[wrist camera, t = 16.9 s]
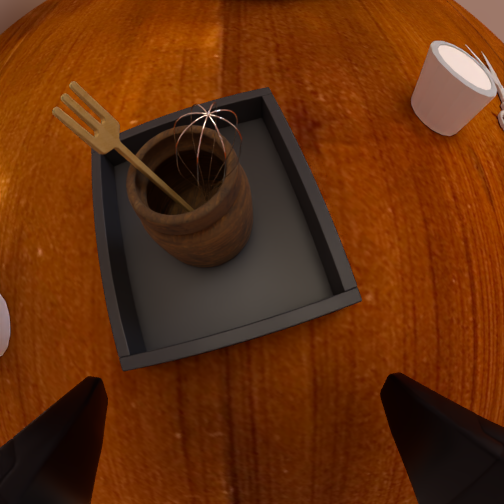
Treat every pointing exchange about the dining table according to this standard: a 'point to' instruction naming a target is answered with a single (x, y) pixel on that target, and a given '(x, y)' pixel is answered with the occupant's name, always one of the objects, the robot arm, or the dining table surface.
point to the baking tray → (233, 271)
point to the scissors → (502, 91)
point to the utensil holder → (178, 183)
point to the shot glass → (451, 89)
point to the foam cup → (4, 326)
